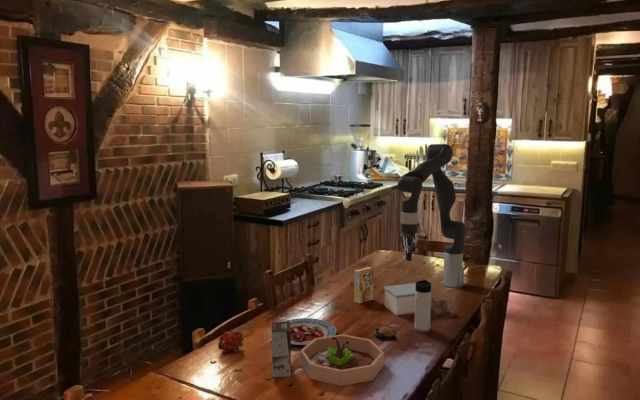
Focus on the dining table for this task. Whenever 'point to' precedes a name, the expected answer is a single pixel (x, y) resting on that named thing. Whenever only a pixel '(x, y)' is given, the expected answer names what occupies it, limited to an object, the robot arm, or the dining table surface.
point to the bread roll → (385, 334)
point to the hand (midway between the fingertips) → (408, 260)
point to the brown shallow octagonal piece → (347, 374)
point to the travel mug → (422, 306)
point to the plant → (340, 357)
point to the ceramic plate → (309, 330)
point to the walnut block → (439, 305)
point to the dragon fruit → (230, 341)
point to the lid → (401, 290)
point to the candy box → (363, 285)
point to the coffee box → (281, 349)
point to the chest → (400, 304)
